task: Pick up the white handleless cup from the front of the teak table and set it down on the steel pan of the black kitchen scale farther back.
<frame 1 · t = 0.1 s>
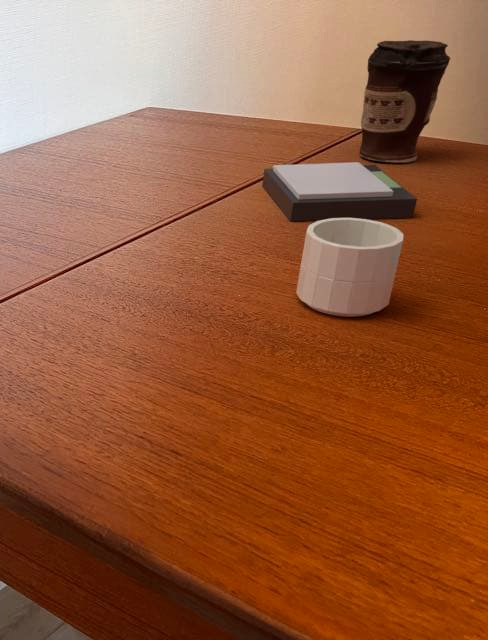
white handleless cup: (340, 301, 71), on the table
coffee cup: (386, 159, 104), on the table
scale: (332, 201, 92), on the table
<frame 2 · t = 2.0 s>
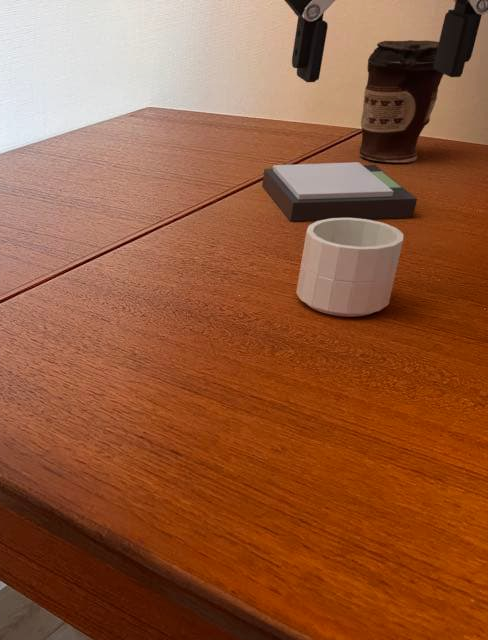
hand: (376, 76, 61), 18 cm above the table, tool pointing down, fingers open, 9 cm apart
nothing on the table moved.
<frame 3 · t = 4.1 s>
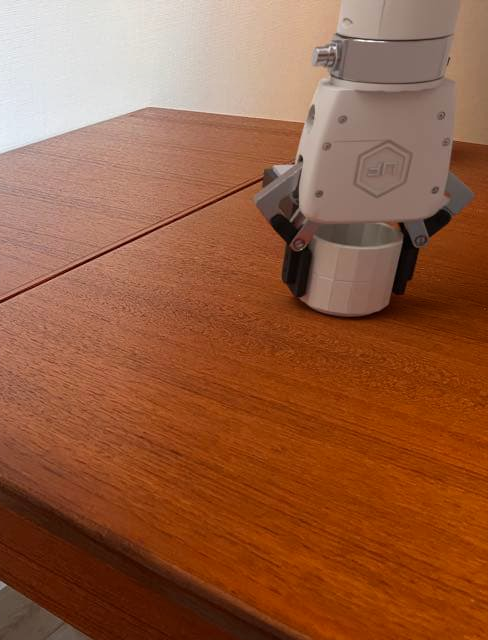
hand: (343, 288, 70), 1 cm above the table, tool pointing down, fingers closed on white handleless cup, 7 cm apart
white handleless cup: (340, 301, 71), on the table, touching gripper
everything else where it was.
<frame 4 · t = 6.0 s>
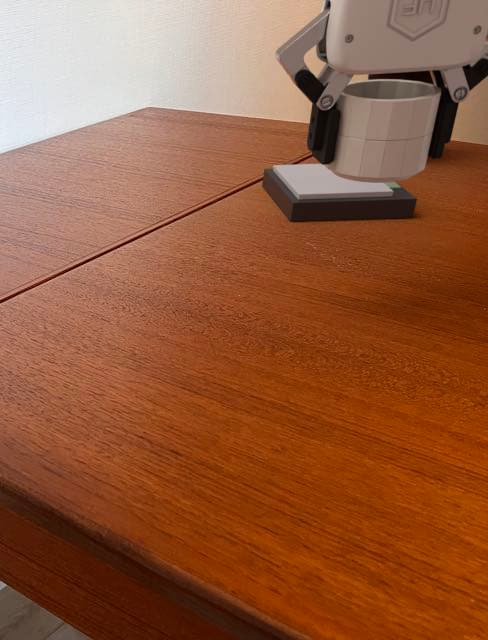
hand: (374, 155, 65), 12 cm above the table, tool pointing down, fingers closed on white handleless cup, 7 cm apart
white handleless cup: (371, 171, 66), point 11 cm above the table, touching gripper
everything else where it was.
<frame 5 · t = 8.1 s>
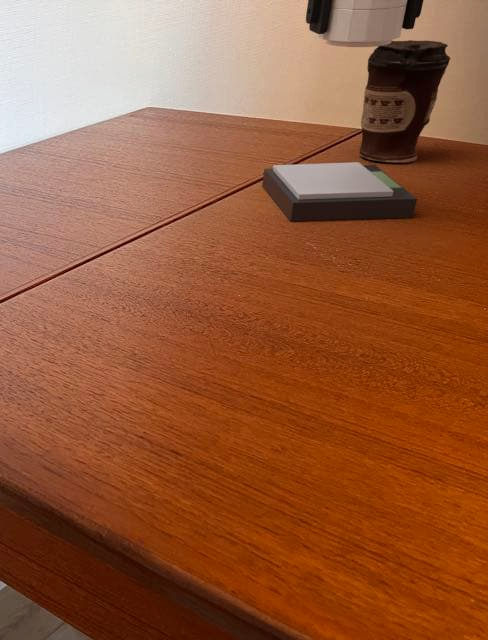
hand: (360, 28, 80), 18 cm above the table, tool pointing down, fingers closed on white handleless cup, 7 cm apart
white handleless cup: (357, 42, 81), point 16 cm above the table, touching gripper
everything else where it was.
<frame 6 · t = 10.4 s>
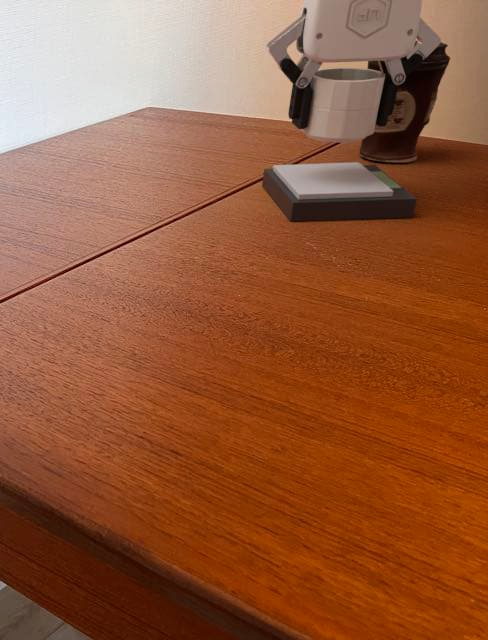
hand: (337, 123, 88), 8 cm above the table, tool pointing down, fingers closed on white handleless cup, 7 cm apart
white handleless cup: (335, 135, 89), point 7 cm above the table, touching gripper
everything else where it was.
when the fingers open (4 cm above the table, at t = 12.1 s): white handleless cup stays where it is, resting on scale.
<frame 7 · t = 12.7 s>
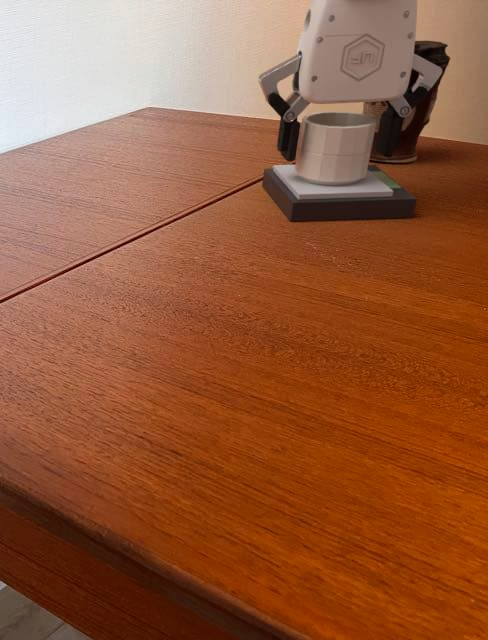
hand: (335, 155, 90), 5 cm above the table, tool pointing down, fingers open, 9 cm apart
white handleless cup: (329, 177, 91), point 3 cm above the table, touching scale
everything else where it was.
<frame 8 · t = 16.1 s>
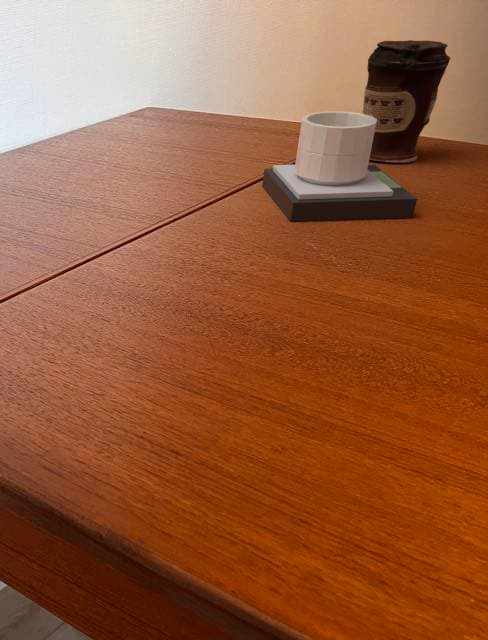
nothing on the table moved.
at the end: white handleless cup inside the target area on the scale (0.3 cm from its centre), point 2.6 cm above the scale's base; white handleless cup tilted 0°; the gripper is holding nothing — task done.
